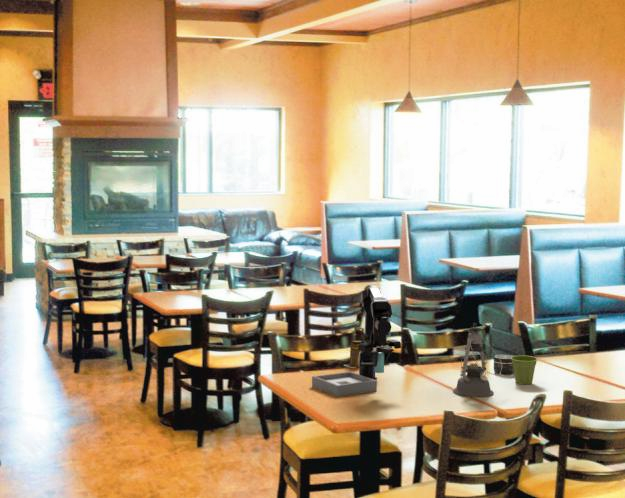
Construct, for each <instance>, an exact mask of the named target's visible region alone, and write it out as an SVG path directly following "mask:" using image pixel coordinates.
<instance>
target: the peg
mask: <svg viewBox="0 0 625 498" xmlns="http://www.w3.org/2000/svg"><path fill="white" fill-rule="evenodd" d="M377 352H378V360H377V365H376V367H375V370H374V372H375V374H383V373H385V366H384V353H383V352H382V351H377Z"/></svg>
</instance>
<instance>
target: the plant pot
mask: <svg viewBox="0 0 625 498" xmlns="http://www.w3.org/2000/svg"><path fill="white" fill-rule="evenodd" d="M512 356H513V357H511V359H512V363H513V367H514V373H513V375H514V380H515V383H516V384H518V385H522V384H524V385H531V384H532V383H533V380H534V374H535V368H536V365H537V361H538V360H539V358H537V357H536V356H533V355H531V356H530V355H512Z"/></svg>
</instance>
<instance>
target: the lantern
mask: <svg viewBox="0 0 625 498" xmlns="http://www.w3.org/2000/svg"><path fill="white" fill-rule="evenodd" d="M474 325H475V326H474ZM476 325H477V323H476V322H475V323H473V327H470V328H468V331H470V332H468V337H467V339H466V346H465V348H464V350H465V354H464V356H463V355H462V356H461V358H463V359H461V361H460V362H461V363H460V365H461V367H460V368H461V369H460V375H459V376H460V378H458V379H457V382H456V387H455V388H454V389H452V393H453V394H455V395H456V396H457V395H458V396H460V397H466V398H476V399H477V398H487V397H491V396H493V395H494V393H495V392H494V391H493V389H491V385H490V381H489V378H488V377H487V376H486V375H487V374H490V375H493V376H498V377H499V376H500V375H502V374H501V372H500V374H494V373H491V372H489V371H487V367H486V366H487V364H488V358H487V356H486V355H485V354H484V350H485V349H484V346H483V345H484V344H485V345H487V346H488V347H489V348H490V349H492V350H493V352H494V353H495V354H496V355H497V356H498V355H499V354H497V353H496V351H495V350H494V349H493V347H492V346H491V345H489V344H488V343H486V341H485V339H484V335H482V333H480V331H481V328H479V327H477V326H476ZM483 342H484V344H483ZM470 352H472V353H470ZM474 352H475V353H474ZM477 353H478V354H479V355H480V359H479V358H477V357H475V354H477ZM472 355H473V356H472ZM470 356H472V357H473V358H474V361H475V363H473V362H469V358H470ZM485 358H486V359H485ZM498 358H499V357H498ZM476 359H477V360H479V361H480V362H481V365H480V364H479V363H478V362H477V360H476ZM499 359H500V358H499ZM462 360H463V362H462ZM500 361H501V360H500ZM462 363H463V364H462ZM468 363H469V365H468ZM501 365H502V362H501ZM501 369H502V368H501Z"/></svg>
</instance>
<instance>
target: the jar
mask: <svg viewBox="0 0 625 498" xmlns="http://www.w3.org/2000/svg"><path fill="white" fill-rule="evenodd" d="M497 355H498V356H497ZM513 356H514V355H511V354H510V355H509V354H495V355H494V356H493V371H494V373H495V374H496V375H499V374H500V372H501V374H500V375H504V376H508V375H509V376H510V375H514V367H513V363H512V359H511V357H513ZM498 357H499V358H500V359H499V358H498ZM500 360H501V361H500ZM501 362H502V365H501ZM501 368H502V369H501Z"/></svg>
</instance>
